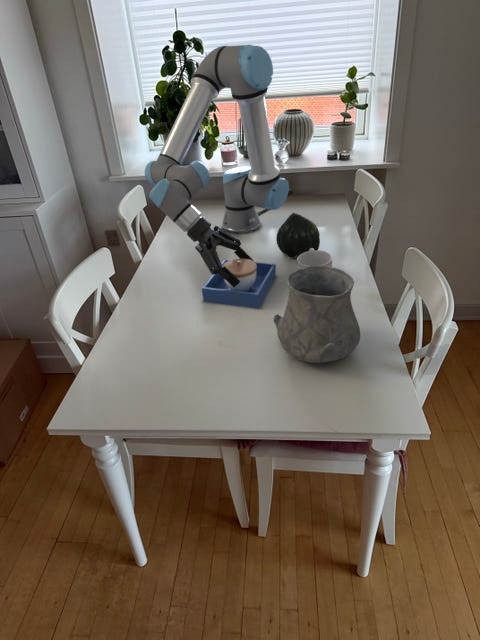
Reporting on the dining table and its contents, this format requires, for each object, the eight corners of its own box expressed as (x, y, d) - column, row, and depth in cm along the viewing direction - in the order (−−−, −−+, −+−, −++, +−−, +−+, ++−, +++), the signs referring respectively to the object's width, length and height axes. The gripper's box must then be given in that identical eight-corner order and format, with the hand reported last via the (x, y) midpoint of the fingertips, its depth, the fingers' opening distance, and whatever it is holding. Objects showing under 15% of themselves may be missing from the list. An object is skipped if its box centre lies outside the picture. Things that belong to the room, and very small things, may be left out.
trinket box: (240, 276, 149) (238, 250, 143) (264, 286, 142) (263, 259, 137) (216, 289, 142) (213, 263, 137) (241, 300, 136) (239, 273, 131)
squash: (320, 251, 148) (319, 207, 150) (275, 253, 151) (274, 210, 153) (319, 262, 162) (318, 222, 164) (278, 264, 165) (277, 224, 166)
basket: (225, 271, 153) (224, 259, 150) (275, 276, 147) (275, 263, 145) (203, 301, 138) (201, 288, 135) (258, 308, 132) (257, 294, 130)
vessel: (292, 315, 128) (292, 251, 117) (369, 335, 118) (377, 267, 107) (256, 359, 113) (252, 291, 102) (341, 386, 103) (347, 313, 92)
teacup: (330, 289, 139) (331, 265, 134) (295, 287, 141) (295, 264, 136) (332, 267, 150) (333, 245, 145) (299, 266, 152) (299, 245, 148)
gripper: (203, 216, 147) (249, 262, 151) (168, 249, 128) (222, 300, 131) (216, 201, 142) (263, 249, 146) (183, 233, 123) (238, 287, 127)
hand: (244, 273), depth 139 cm, fingers open, 13 cm apart
